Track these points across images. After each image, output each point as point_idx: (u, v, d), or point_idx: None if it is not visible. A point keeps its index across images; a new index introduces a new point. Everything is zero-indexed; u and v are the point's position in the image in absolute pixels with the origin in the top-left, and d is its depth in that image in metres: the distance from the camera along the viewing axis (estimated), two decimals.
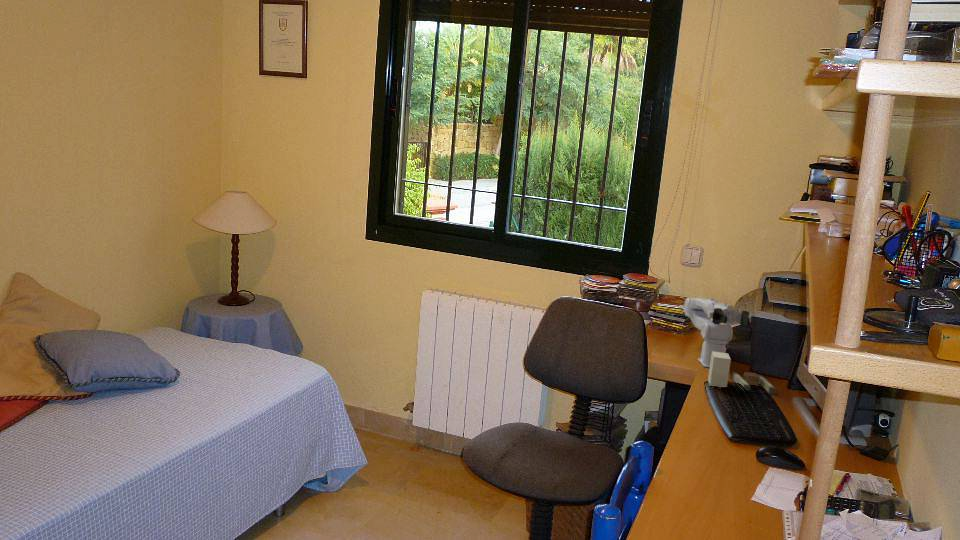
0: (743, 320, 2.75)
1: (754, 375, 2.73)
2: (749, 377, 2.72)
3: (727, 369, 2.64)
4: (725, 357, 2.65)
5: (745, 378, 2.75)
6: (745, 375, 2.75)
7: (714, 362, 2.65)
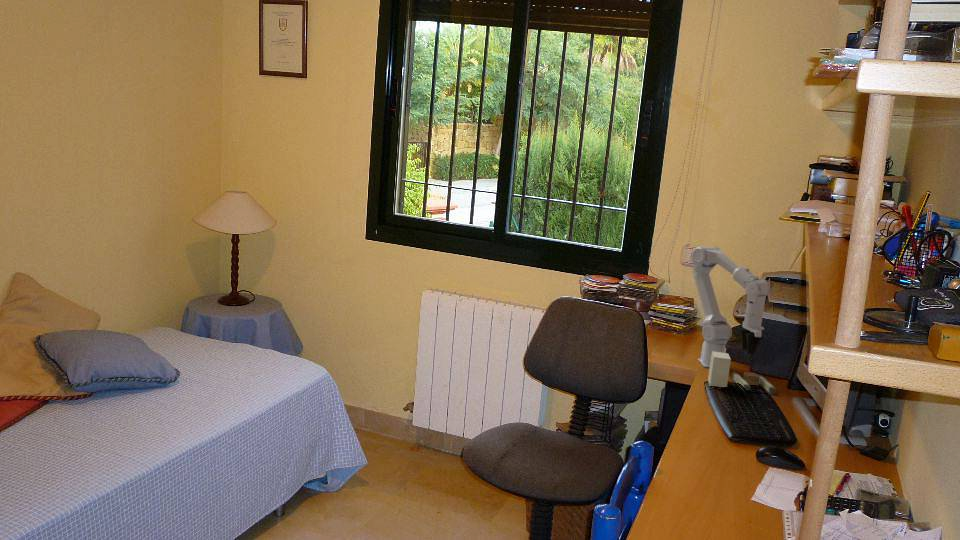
0: (746, 337, 2.82)
1: (754, 375, 2.73)
2: (749, 377, 2.72)
3: (727, 369, 2.64)
4: (725, 357, 2.65)
5: (745, 378, 2.75)
6: (745, 375, 2.75)
7: (714, 362, 2.65)
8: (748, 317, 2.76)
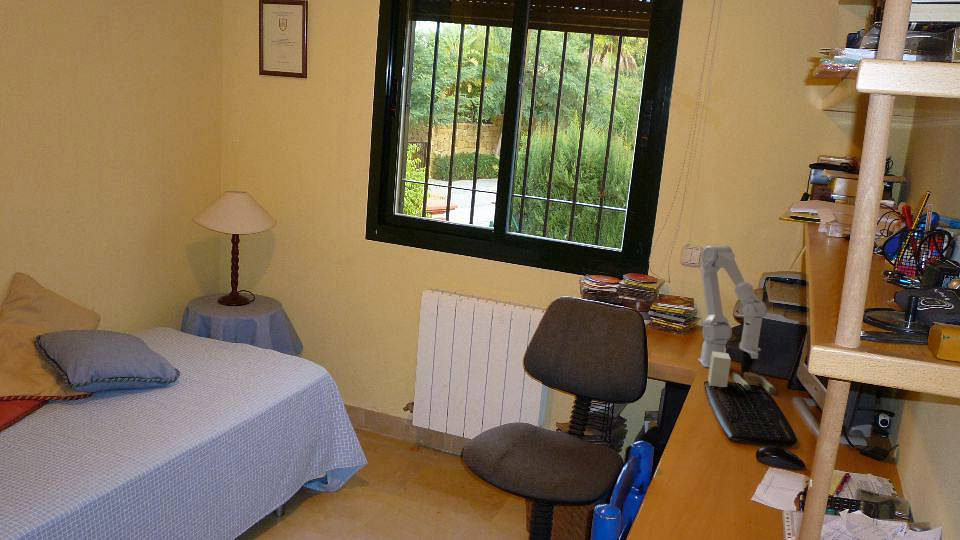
0: None
1: (754, 375, 2.73)
2: (749, 377, 2.72)
3: (727, 369, 2.64)
4: (725, 357, 2.65)
5: (745, 378, 2.75)
6: (745, 375, 2.75)
7: (714, 362, 2.65)
8: (745, 338, 2.78)
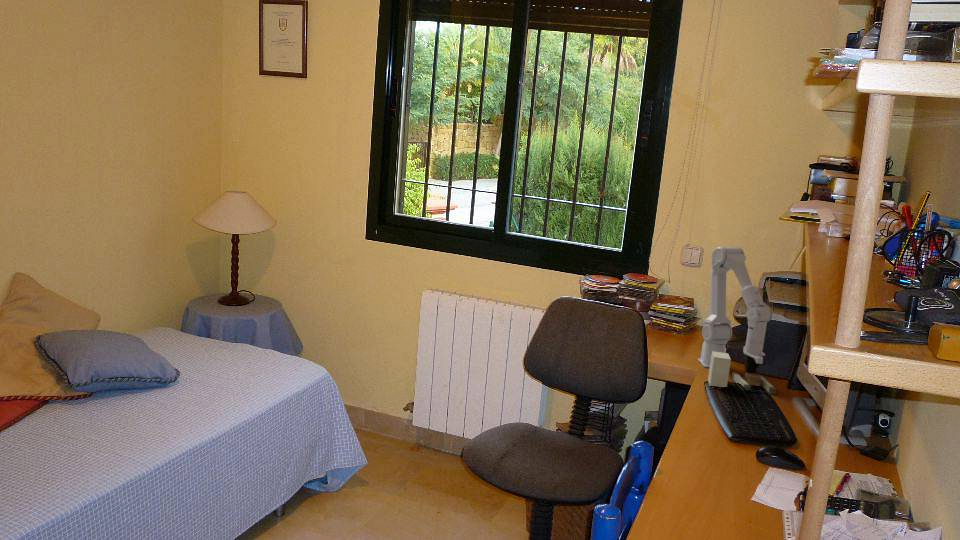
0: None
1: (755, 376, 2.72)
2: (750, 378, 2.71)
3: (727, 369, 2.64)
4: (725, 357, 2.65)
5: (746, 379, 2.73)
6: (746, 376, 2.74)
7: (714, 362, 2.65)
8: (749, 343, 2.73)
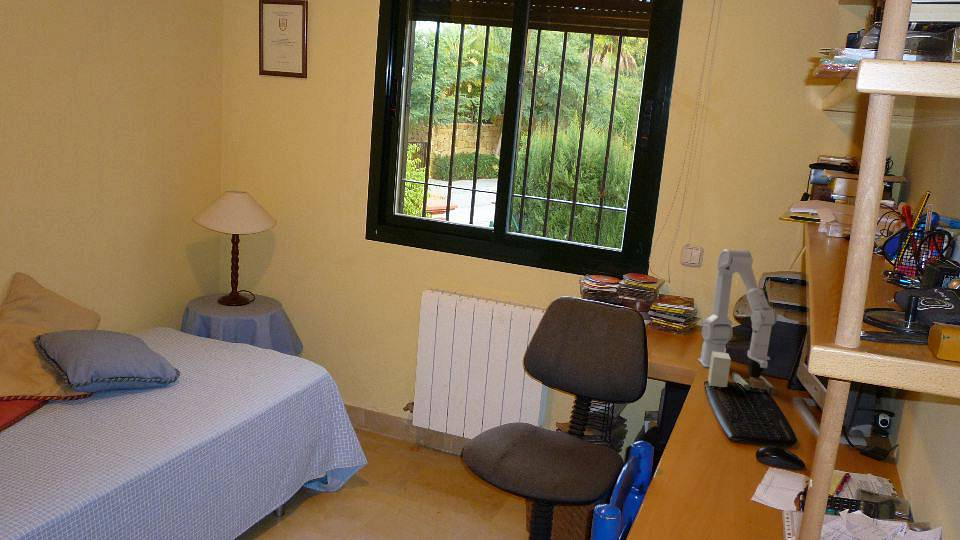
0: None
1: (760, 380, 2.68)
2: (755, 382, 2.67)
3: (727, 369, 2.64)
4: (725, 357, 2.65)
5: (750, 383, 2.69)
6: (751, 380, 2.69)
7: (714, 362, 2.65)
8: (753, 347, 2.68)
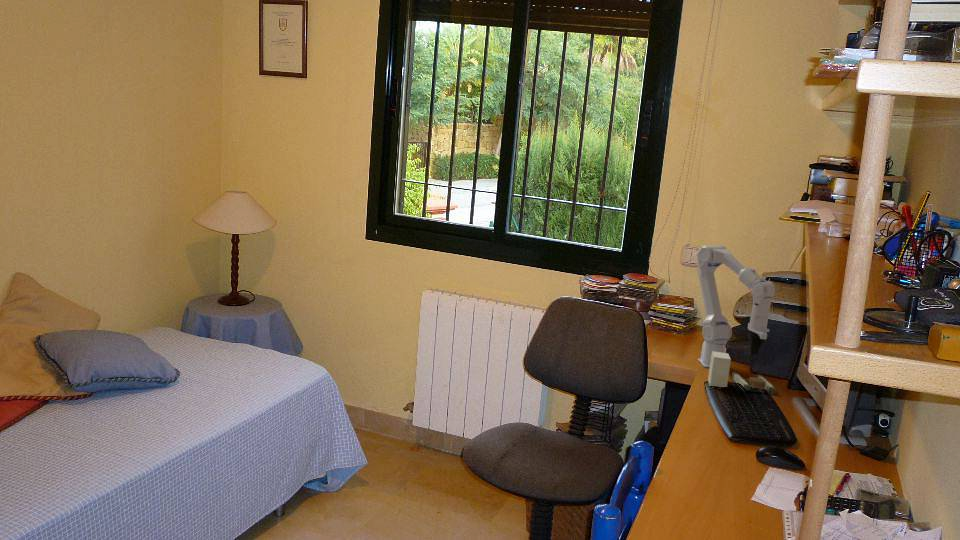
0: None
1: (760, 380, 2.68)
2: (755, 382, 2.67)
3: (727, 369, 2.64)
4: (725, 357, 2.65)
5: (750, 383, 2.69)
6: (751, 380, 2.69)
7: (714, 362, 2.65)
8: (753, 319, 2.74)
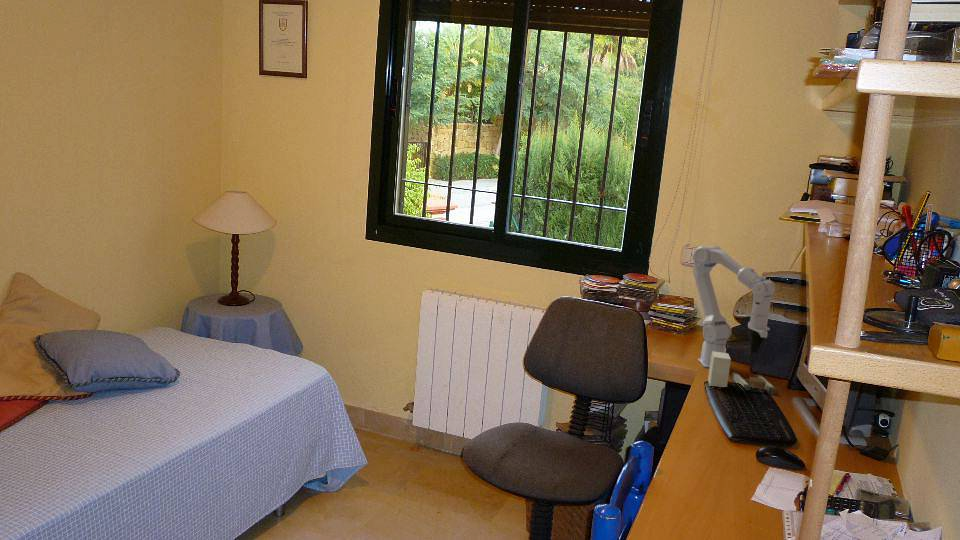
0: None
1: (760, 380, 2.68)
2: (755, 382, 2.67)
3: (727, 369, 2.64)
4: (725, 357, 2.65)
5: (750, 383, 2.69)
6: (751, 380, 2.69)
7: (714, 362, 2.65)
8: (754, 318, 2.76)
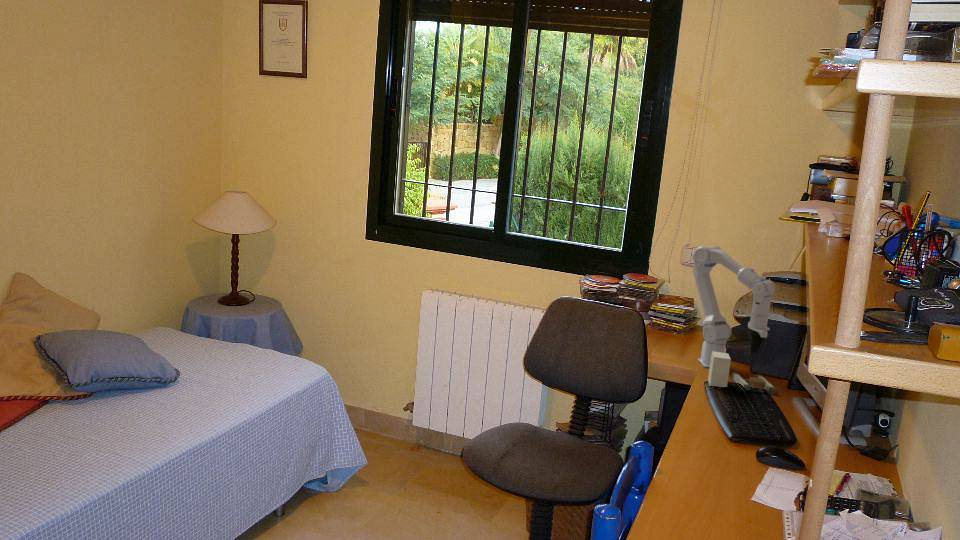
0: None
1: (760, 380, 2.68)
2: (755, 382, 2.67)
3: (727, 369, 2.64)
4: (725, 357, 2.65)
5: (750, 383, 2.69)
6: (751, 380, 2.69)
7: (714, 362, 2.65)
8: (754, 318, 2.76)
